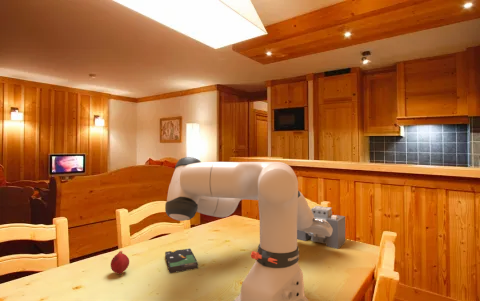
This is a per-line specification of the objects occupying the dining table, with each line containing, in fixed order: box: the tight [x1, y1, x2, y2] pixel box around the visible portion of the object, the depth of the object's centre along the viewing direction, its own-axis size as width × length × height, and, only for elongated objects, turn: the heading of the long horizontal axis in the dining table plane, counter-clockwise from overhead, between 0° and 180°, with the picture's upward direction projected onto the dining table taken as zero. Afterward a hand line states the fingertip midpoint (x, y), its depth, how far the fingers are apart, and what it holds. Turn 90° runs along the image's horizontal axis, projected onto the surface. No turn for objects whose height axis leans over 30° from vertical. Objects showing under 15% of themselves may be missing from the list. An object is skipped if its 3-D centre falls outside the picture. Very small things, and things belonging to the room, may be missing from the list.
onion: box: [110, 250, 130, 275], centre depth 90 cm, size 6×6×8 cm
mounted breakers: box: [297, 214, 346, 250], centre depth 122 cm, size 10×20×13 cm, turn 51°
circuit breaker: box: [310, 205, 333, 245], centre depth 120 cm, size 8×14×15 cm, turn 147°
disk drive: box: [164, 248, 199, 274], centre depth 99 cm, size 10×3×15 cm
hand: (312, 234), depth 115 cm, fingers closed
